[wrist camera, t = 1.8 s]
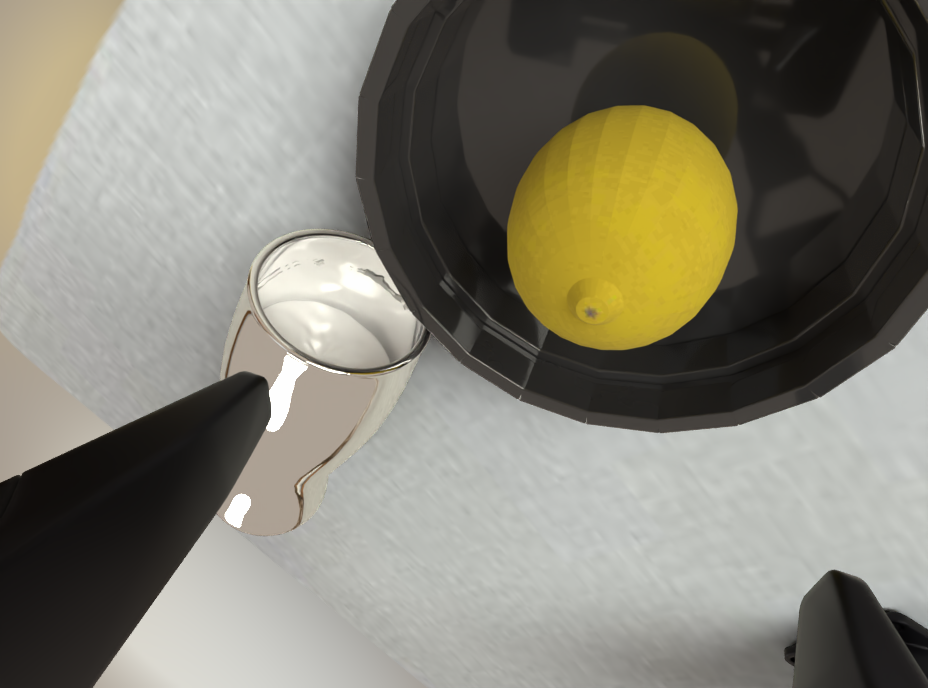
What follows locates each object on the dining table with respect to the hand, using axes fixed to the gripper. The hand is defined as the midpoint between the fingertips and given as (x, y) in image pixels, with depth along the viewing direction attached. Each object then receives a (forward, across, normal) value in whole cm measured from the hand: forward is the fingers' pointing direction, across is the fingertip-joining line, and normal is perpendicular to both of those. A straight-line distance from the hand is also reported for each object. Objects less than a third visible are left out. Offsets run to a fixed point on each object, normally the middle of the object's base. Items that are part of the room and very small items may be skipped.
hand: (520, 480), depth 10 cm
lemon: (+13, 0, 0) cm, 13 cm away
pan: (+13, 0, 0) cm, 13 cm away
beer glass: (+10, +13, +20) cm, 26 cm away
